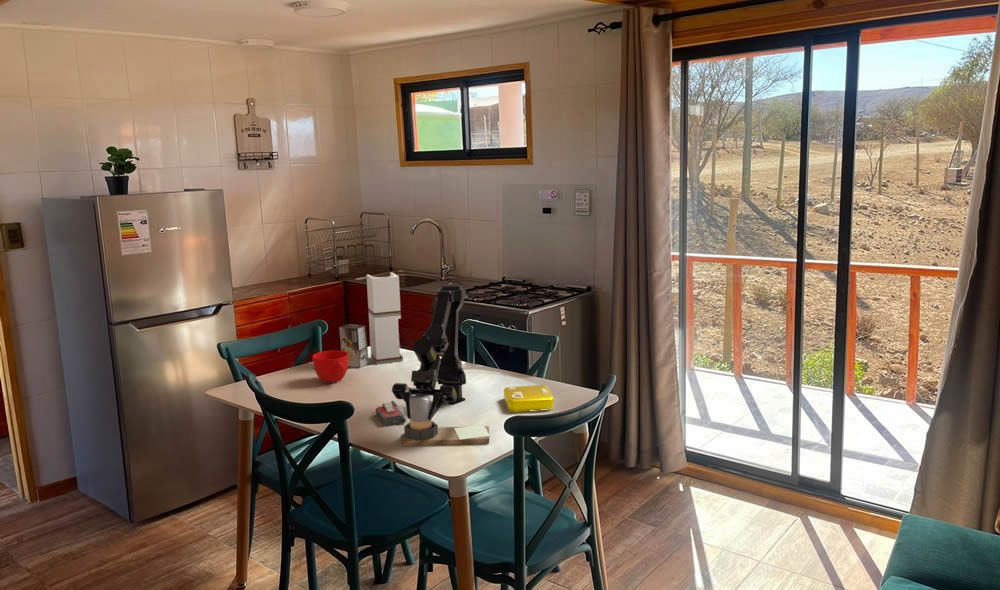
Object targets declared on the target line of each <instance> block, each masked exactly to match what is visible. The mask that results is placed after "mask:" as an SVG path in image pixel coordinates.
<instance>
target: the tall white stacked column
mask: <svg viewBox="0 0 1000 590" xmlns="http://www.w3.org/2000/svg"><path fill="white" fill-rule="evenodd" d="M366 287H367V288H366V289H367V290H366V291H367V292H366V293H367V305H368V306H367V307H368V323H369V326H368V327H369V344H370V345H369V346H370V358H371V359H372V360H373V361H375V362H374V363H375V364H376V365H383V363H386V364H393V362H394V363H399V362H401V361H402V362H403V360H404V357H403V355H402V354H401V353H400V351H401V350H400V349H401V348H400V333H399V319H402V315H401V314H402V313H401V294H400V292H401V290H400V276H399V275H397V274H396V273H394V272H390V273H389V276H382V277H381V276H380V277H379V276H378V277H376V276H372V275H370V274H366Z"/></svg>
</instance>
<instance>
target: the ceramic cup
mask: <svg viewBox="0 0 1000 590" xmlns="http://www.w3.org/2000/svg"><path fill="white" fill-rule="evenodd" d="M312 364H313V369H314V371H315V373H316V376H318V378H319V379H320V380H321V381H322V382H323V381H324V382H336V383H338V382H337V381H339V382H341V381H342V379H343V378H344V376H345V375H346V373H347V371H348V367H349V366H348V353H347V352H345V351H341V350H337V349H336V350H334V349H333V350H323V351H319V352H317V353H314V354H313V355H312ZM340 380H341V381H340ZM324 382H323V383H324Z"/></svg>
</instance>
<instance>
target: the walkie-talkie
mask: <svg viewBox="0 0 1000 590" xmlns="http://www.w3.org/2000/svg"><path fill="white" fill-rule="evenodd" d="M375 417H377V419H378V420H379V421H380V422H381V424H382V425H383V426H385V427H387V426H388V427H389V426H394V425H400V424H401V423H402V424H404V423H406V422H407V419H406V418H405V409H404V408H403V405H398V404H397V403H396V402H395V401H394V400H391V402H386V403H382V406H377V407H376V408H375Z"/></svg>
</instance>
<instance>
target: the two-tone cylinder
mask: <svg viewBox="0 0 1000 590" xmlns="http://www.w3.org/2000/svg"><path fill="white" fill-rule="evenodd" d="M409 402H410V419H409V422H410V430H414V431H424V430H429V429H432V421H433V420H432V419H431V420H429V413H430V409H431V396H429V395H413V396H411V397H410V398H409Z"/></svg>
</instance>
